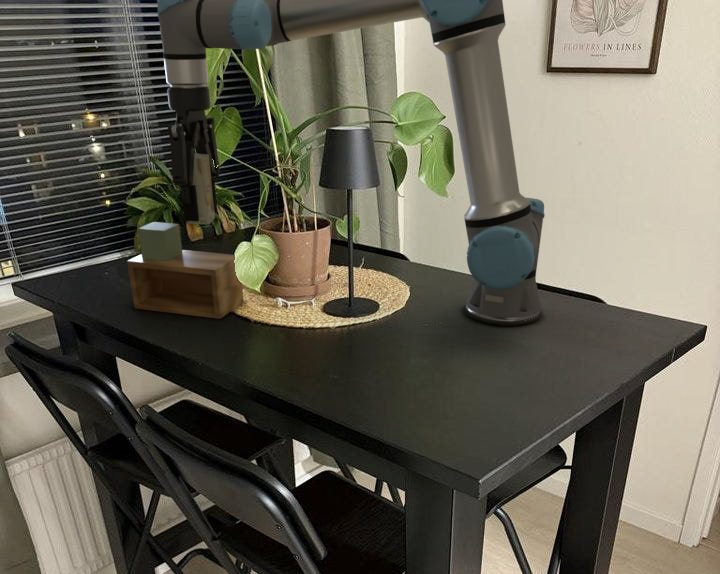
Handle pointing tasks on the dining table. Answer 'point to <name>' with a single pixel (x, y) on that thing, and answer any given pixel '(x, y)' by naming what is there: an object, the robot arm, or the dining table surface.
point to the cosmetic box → (203, 189)
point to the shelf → (186, 284)
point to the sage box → (160, 241)
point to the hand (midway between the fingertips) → (201, 216)
